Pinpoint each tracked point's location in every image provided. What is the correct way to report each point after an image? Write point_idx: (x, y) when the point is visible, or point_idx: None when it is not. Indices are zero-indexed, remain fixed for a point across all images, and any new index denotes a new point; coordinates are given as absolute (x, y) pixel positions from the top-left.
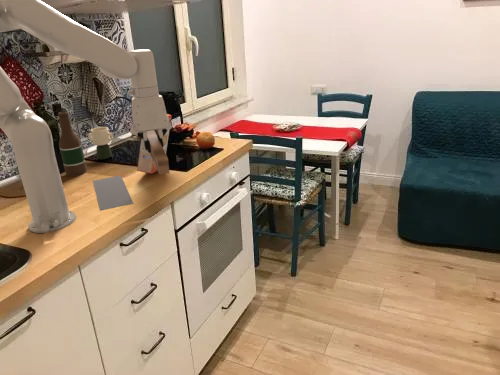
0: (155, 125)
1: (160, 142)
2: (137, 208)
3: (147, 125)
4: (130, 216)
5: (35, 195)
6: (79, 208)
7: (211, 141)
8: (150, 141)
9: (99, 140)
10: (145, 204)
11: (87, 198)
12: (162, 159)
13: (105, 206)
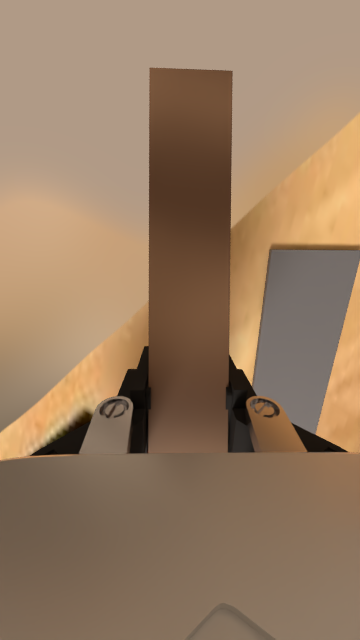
0: (144, 532)
1: (141, 372)
2: (268, 216)
3: (348, 566)
4: (303, 163)
5: None
6: None
7: None
8: (219, 385)
9: None
10: (241, 234)
11: (351, 362)
12: (194, 77)
13: (340, 272)
